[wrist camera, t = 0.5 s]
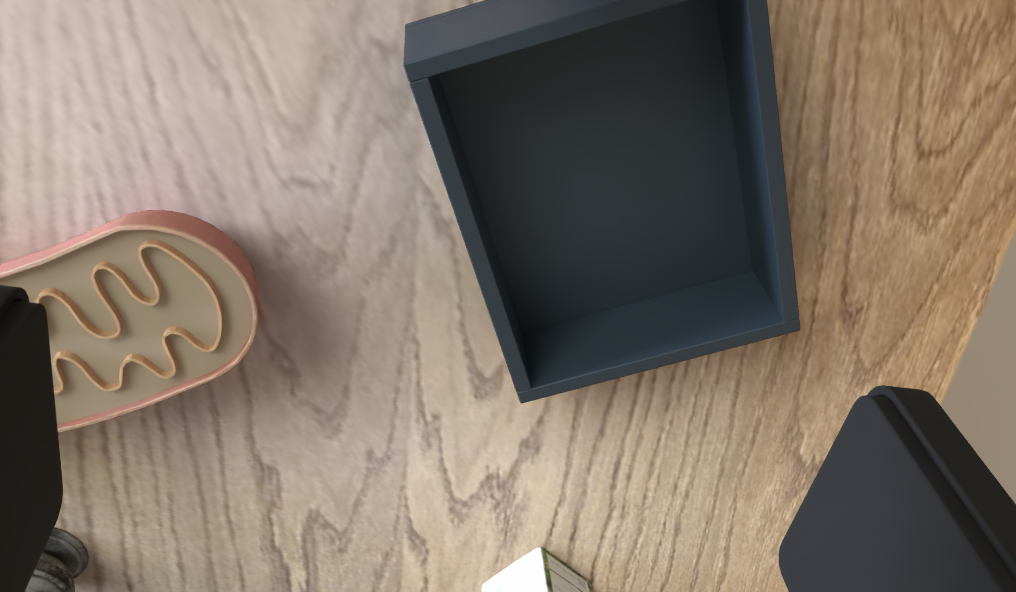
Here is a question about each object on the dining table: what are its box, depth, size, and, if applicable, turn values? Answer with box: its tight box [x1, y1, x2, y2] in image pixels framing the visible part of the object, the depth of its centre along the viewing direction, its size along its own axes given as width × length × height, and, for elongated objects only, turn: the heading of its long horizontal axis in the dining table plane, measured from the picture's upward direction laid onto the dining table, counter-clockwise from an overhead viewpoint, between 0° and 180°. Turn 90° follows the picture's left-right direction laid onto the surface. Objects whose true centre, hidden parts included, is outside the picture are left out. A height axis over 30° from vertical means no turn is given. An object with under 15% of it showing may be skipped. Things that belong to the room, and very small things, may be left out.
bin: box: [403, 0, 800, 403], centre depth 42 cm, size 19×15×6 cm
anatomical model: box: [0, 210, 260, 432], centre depth 44 cm, size 23×10×5 cm, turn 104°
